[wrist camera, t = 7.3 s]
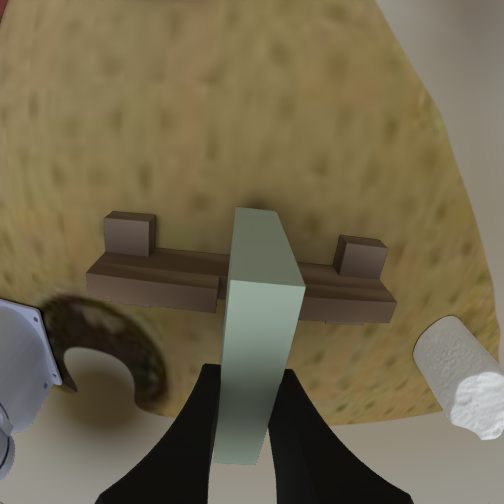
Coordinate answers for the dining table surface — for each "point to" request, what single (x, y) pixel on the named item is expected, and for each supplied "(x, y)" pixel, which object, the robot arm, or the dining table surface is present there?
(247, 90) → the dining table surface
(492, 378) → the bottle
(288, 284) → the slotted plate
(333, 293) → the walnut stand
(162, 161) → the dining table surface
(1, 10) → the plaque
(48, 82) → the dining table surface
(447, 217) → the dining table surface
